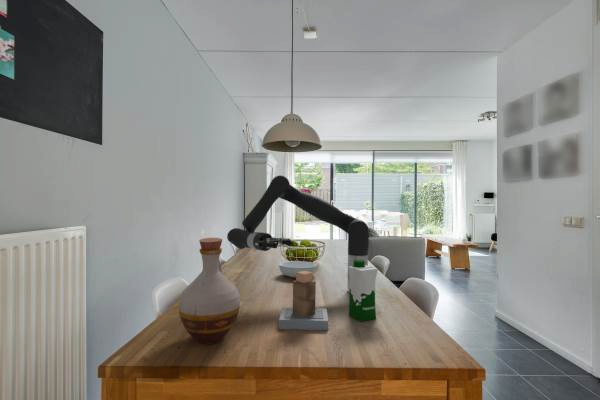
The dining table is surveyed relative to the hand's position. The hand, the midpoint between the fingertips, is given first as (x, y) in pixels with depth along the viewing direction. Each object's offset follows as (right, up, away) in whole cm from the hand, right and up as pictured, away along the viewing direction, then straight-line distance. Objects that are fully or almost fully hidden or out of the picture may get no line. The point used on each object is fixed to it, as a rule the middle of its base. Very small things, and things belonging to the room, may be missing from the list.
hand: (284, 244), depth 128 cm
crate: (+7, -22, -15) cm, 27 cm away
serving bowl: (+5, -26, +55) cm, 61 cm away
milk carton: (+28, -25, -9) cm, 39 cm away
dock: (+7, -25, -15) cm, 30 cm away
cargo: (+7, -11, -15) cm, 20 cm away
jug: (-21, -25, -28) cm, 43 cm away
